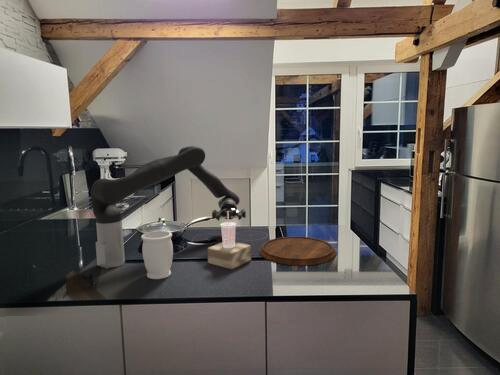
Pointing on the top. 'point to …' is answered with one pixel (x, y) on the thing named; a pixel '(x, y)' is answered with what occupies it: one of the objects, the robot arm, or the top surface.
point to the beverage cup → (228, 233)
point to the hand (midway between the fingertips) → (228, 217)
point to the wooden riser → (229, 255)
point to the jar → (157, 253)
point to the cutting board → (297, 251)
